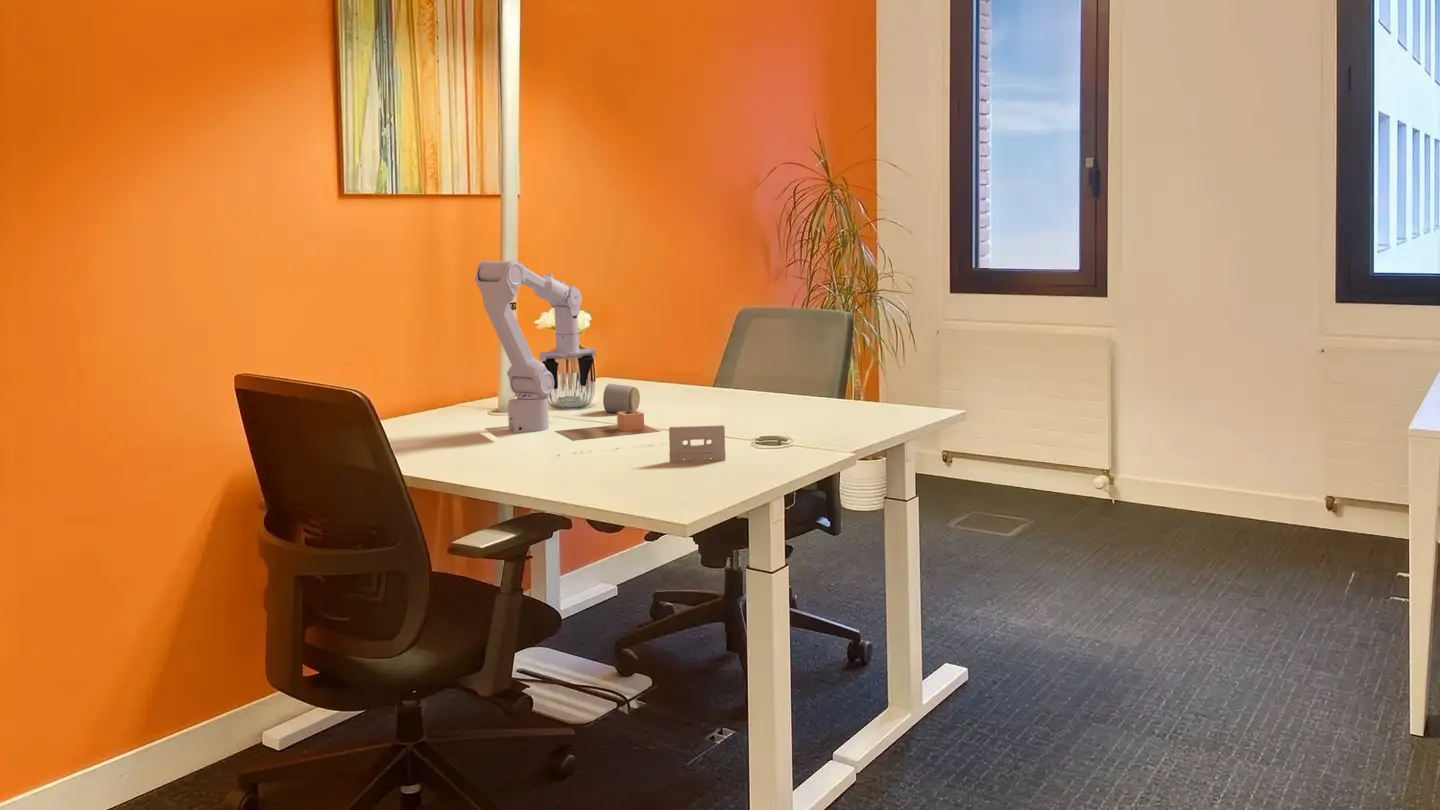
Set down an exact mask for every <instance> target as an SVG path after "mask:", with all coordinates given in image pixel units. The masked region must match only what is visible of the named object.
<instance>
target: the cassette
mask: <svg viewBox="0 0 1440 810" xmlns="http://www.w3.org/2000/svg"><path fill="white" fill-rule="evenodd" d="M725 430H726V429H725V426H724V425H723V424H722V425H721V424H719V425H693V426H692V425H689V426H669V428H668V434H669V435H668V438H669V440H668V441H669V462H670V463H702V462H703V463H704V462H705V463H706V462H707V463H708V462H722V461H726V441H725V440H726V437H725V432H726V431H725ZM694 440H695V441H696V440H703V444H691V441H694ZM709 440H710V441H711V443H707V442H708V441H709ZM684 441H687V444H684Z"/></svg>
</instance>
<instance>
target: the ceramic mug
mask: <svg viewBox="0 0 1440 810" xmlns="http://www.w3.org/2000/svg"><path fill="white" fill-rule="evenodd" d="M640 395H641V394H640V391H639V389H638V388H637V387H635V386H632V385H623V384H616V383H608V384H607V385H606V386H605V389H604V391H603V397H602V399H603V400H602V401H603V402H602V403H603V404H602V405H603V408H604V411H605V412H606V413H613V412H614V413H616V414H617V412H624V411H626V410H637V411H638V408H639V406H640V399H641V396H640Z"/></svg>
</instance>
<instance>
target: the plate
mask: <svg viewBox="0 0 1440 810" xmlns="http://www.w3.org/2000/svg"><path fill="white" fill-rule="evenodd" d="M626 414H635V410H626ZM554 432H555V433H557V434H559V435H561V436H562V437H565V438H567V439H569V440H571V441H572V442H574V441H582V440H593V439H594V440H595V439H601V438H602V439H603V438H613V437H621V436H622V437H623V436H632V435H642V434H651V433H661V432H662V431H661V430H658V429H655V428H654V427H652V426H649V425H646V424H644V430H635V431H623V430H620V429H618V426H617V424H612V425H602V426H593V427H583V428H572V429H563V430H555V431H554Z"/></svg>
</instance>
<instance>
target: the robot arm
mask: <svg viewBox="0 0 1440 810" xmlns="http://www.w3.org/2000/svg"><path fill="white" fill-rule="evenodd" d="M474 281H475V283H476V285H477V288H478V289H479V292H480V294H481V296H482V302H483V307H484V310H485V312H486V314H487V316H488V318H489V320H490V323H491V325H492V326H493V328H494V330H495V333H496V335H497V338H498V339H499V341H500V344H501V345H502V348H503V350H504V352H505V354H506V356H507V358H508V360H509V362H510V364H511V365H510V367H509V368H508V370H507V372H506V375H507V376H508V380H509V387H510V389H511V391H512V393H513V394H514V397H515V398H512V399H509V400H508V402H507V416H508V430H509V431H511V432H513V434H514V433H515V434H521V433H537V432H544V431H547V430H549V428H550V425H549V421H550V420H549V403H548V397H550V396H551V394H552V393H553V390H554V389H555V390H556V389H558V388H559V382H558V371H559V370H558V369H559V362H558V361H556V360H567V359H577V362H578V363H577V364H578V369H579V385H580V386H582V387H586V386H587V381H588V376H589V373H590V371H591V368H592V366H593V363H594V362H595V357H597V354H596V351H597V349H596V348H580V343H579V341H580V340H579V339H580V338H579V315H580V311H581V310H580V308H581V304H582V303H583V302H582V301H583V296H582V294H581V291H580V290H579V289H578V288H577V287H576V286H573V285H567V284H565V281H562V280H557V279H555V278H554V275H553V274H550V273H549V274H544V275H538V274H537V273H535V272H534V271H532V270H531V269H528V268H527V267H525V265H524V264H523V263H521V262H518V261H516V260H511V261H510V260H509V261H508V260H507V261H505V260H504V261H503V260H502V261H498V260H497V261H495V260H494V261H493V260H492V261H490V260H483V261H481V262H480V263H479V264H478V265H477V268H476V273H475V277H474ZM521 285H522V286H525V287H528V288H530V289H532V290H533V292H534V295H535V296H537V297H538V298H540V299H542V300H544V301H546V302H548V303H549V305H550V307H551V308H553V309H554V327H555V328H554V329H555V348H556V350H552V351H544V352H539V354H538V355H539V360H538V359H537V358H535V357H534V355H533V353H532V351H531V349H530V346H529V344H528V342H527V340H526V338H525V335H524V334H523V332H522V329H521V327H520V325H519V323H518V321H517V318H516V316H515V314H514V312H513V310H512V308H511V306H510V303H511V302H513V301H514V300H515V298H516V296H517V294H518V292H519V289H520V287H521Z"/></svg>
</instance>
